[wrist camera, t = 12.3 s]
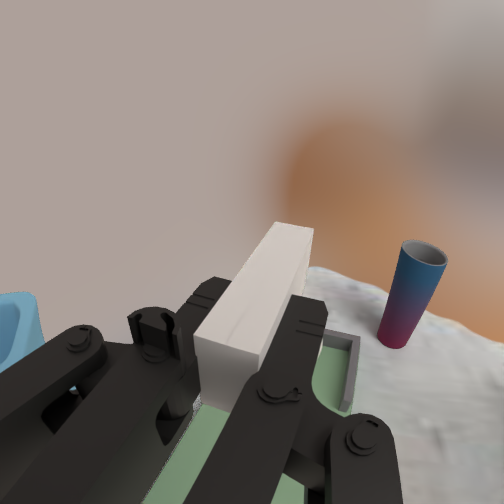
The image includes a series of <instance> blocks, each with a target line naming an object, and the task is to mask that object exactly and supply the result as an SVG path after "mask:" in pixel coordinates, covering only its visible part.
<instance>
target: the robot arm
mask: <svg viewBox="0 0 504 504" xmlns="http://www.w3.org/2000/svg"><path fill="white" fill-rule="evenodd" d="M313 232H314V229H311V228H306V227H301V226H296V225H291V224H286V223H280V222H275V223H274V224H273V226H272V227H271V228H270V230H269V231H268V233H267V234H266V235H265V237H264V238H263V239H262V241H261V242H260V244H259V245H258V246H257V248H256V249H255V251H254V252H253V253H252V255H251V256H250V257H249V259H248V260H247V262H246V263H245V264H244V266H243V267H242V268H241V270H240V271H239V273H238V274H237V275H236V277H235V278H234V279H233V281H230V280H226V279H222V278H218V277H212V278H211V279H209V280H207V281H205V282H203V283H201V285H199V287H198V288H197V289H196V290H195V291H194V292H193V295H191V296H190V297H189V298H188V299H187V301H186V303H184V304H183V305H182V306H181V308H180V309H179V310H178V311H177V312H176V314H175V313H174V312H172V311H170V310H168V309H166V308H160V307H146V308H142V309H139V310H137V311H134V312H133V313H132V314H131V315H129V316H127V318H128V322H129V326H130V330H131V334H132V338H133V341H134V343H133V344H122V343H114V342H107V341H104V339H103V336H102V334H101V333H100V331H99V330H98V329H97V328H95V327H93V326H91V325H78V326H74V327H71V328H69V329H67V330H65V331H64V332H62V333H61V334H59V335H58V336H56V337H55V338H53V339H51V340H50V341H48V342H47V343H45V344H44V345H42V346H40V347H39V348H37V349H36V350H34V351H33V352H31V353H30V354H28V355H27V356H25V357H24V358H22V359H21V360H19V361H18V362H16V363H14V364H13V365H11V366H10V367H8V368H7V369H5V370H4V371H2V372H1V373H0V504H140V503H141V501H142V499H143V498H144V496H145V495H146V493H147V491H148V490H149V488H150V487H151V485H152V483H153V482H154V480H155V479H156V477H157V475H158V474H159V472H160V470H161V469H162V467H163V466H164V464H165V462H166V461H167V459H168V457H169V456H170V454H171V452H172V451H173V449H174V447H175V446H176V444H177V442H178V441H179V439H180V437H181V436H182V434H183V432H184V431H185V429H186V427H187V426H188V424H189V422H190V420H191V419H192V415H193V412H194V411H193V403H194V401H195V400H196V398H197V396H198V395H199V393H200V398H201V403H203V404H206V405H209V406H211V407H214V408H217V409H220V410H223V411H226V412H229V413H230V415H229V417H228V419H227V421H226V423H225V425H224V427H223V429H222V431H221V433H220V435H219V437H218V439H217V441H216V443H215V444H214V446H213V448H212V450H211V452H210V454H209V456H208V458H207V460H206V461H205V463H204V465H203V467H202V469H201V471H200V473H199V475H198V476H197V478H196V480H195V482H194V484H193V486H192V487H191V489H190V491H189V493H188V495H187V496H186V498H185V500H184V502H183V503H182V504H271V502H272V499H273V497H274V494H275V492H276V489H277V486H278V484H279V481H280V478H281V475H282V473H284V474H285V475H287V476H288V477H290V478H292V479H293V480H295V481H297V482H298V483H300V484H302V485H304V504H403V499H402V491H401V483H400V475H399V468H398V462H397V455H396V449H395V443H394V438H393V435H392V433H391V430H390V428H389V427H388V426H387V425H386V424H385V423H384V422H383V421H382V420H381V419H379V418H377V417H375V416H373V415H370V414H362V413H358V414H352V415H348V416H346V417H343V416H341V415H339V414H337V413H335V412H334V411H332V410H330V409H328V408H327V407H326V406H324V405H323V404H322V403H321V402H320V401H319V400H318V399H317V398H316V396H315V394H314V392H313V389H312V376H313V373H314V369H315V365H316V362H317V358H318V354H319V350H320V346H321V342H322V338H323V334H324V330H325V326H326V321H327V317H328V311H327V309H326V306H325V303H324V301H320V300H315V299H311V298H306V297H302V294H303V291H304V288H305V282H306V276H307V270H308V264H309V258H310V251H311V245H312V239H313ZM74 386H75V387H76V389H75V390H70V389H71V388H72V387H74Z"/></svg>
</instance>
